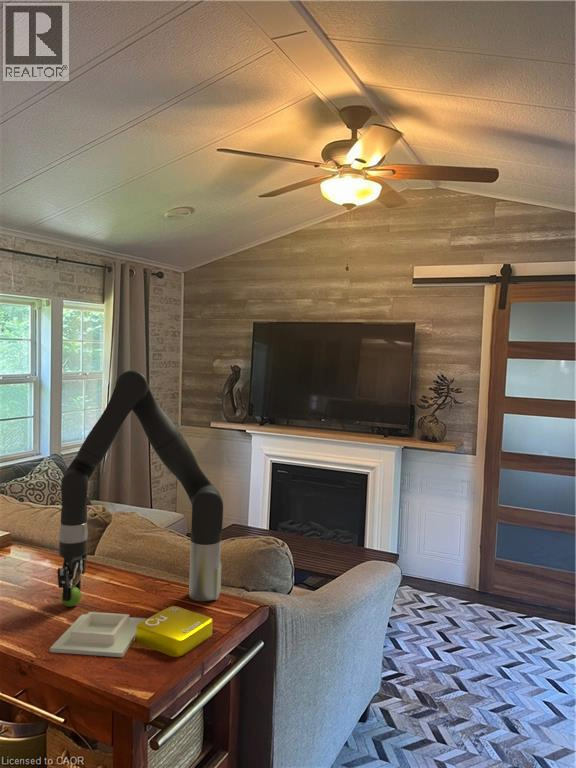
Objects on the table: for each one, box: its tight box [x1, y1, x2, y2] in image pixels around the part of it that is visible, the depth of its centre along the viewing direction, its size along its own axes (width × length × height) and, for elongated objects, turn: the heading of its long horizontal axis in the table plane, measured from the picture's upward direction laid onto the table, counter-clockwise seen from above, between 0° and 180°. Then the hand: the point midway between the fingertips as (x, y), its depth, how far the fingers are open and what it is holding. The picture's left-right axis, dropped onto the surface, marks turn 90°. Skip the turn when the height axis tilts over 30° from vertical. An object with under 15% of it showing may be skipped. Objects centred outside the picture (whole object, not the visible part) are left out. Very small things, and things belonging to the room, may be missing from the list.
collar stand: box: [49, 611, 147, 658], centre depth 141 cm, size 18×18×4 cm
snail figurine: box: [60, 561, 83, 608], centre depth 158 cm, size 5×6×12 cm
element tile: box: [135, 605, 214, 658], centre depth 142 cm, size 15×15×5 cm
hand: (71, 595), depth 157 cm, fingers closed on snail figurine, 5 cm apart
